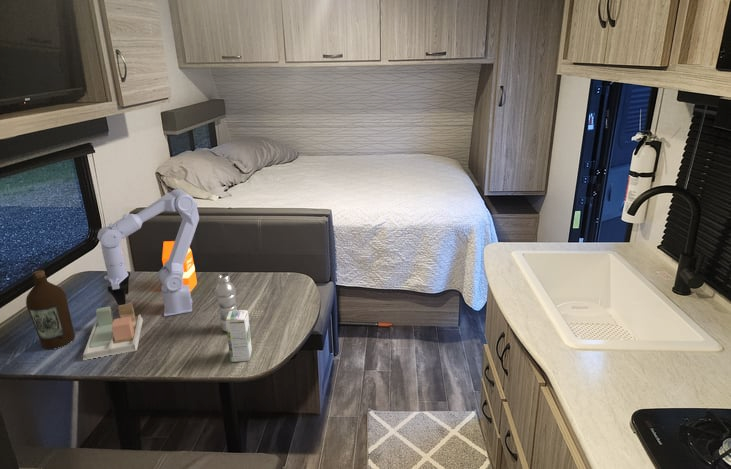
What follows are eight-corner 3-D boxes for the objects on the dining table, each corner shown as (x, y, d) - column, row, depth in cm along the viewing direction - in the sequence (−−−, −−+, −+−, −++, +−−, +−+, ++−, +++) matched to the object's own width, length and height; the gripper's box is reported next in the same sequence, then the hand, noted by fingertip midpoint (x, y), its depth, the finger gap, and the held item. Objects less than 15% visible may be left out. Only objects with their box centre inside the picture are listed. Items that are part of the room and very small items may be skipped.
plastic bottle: (245, 325, 161) (238, 272, 154) (233, 336, 155) (225, 281, 148) (228, 322, 163) (221, 270, 156) (217, 333, 157) (208, 278, 150)
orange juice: (190, 292, 185) (182, 244, 178) (168, 292, 186) (158, 245, 178) (197, 283, 193) (189, 237, 186) (175, 283, 193) (167, 237, 186)
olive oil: (46, 335, 158) (25, 267, 150) (81, 330, 161) (62, 263, 152) (34, 353, 149) (11, 282, 140) (72, 347, 151) (51, 277, 143)
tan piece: (120, 321, 164) (116, 305, 162) (138, 318, 165) (134, 302, 163) (114, 343, 151) (110, 325, 149) (133, 339, 153) (129, 322, 151)
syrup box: (233, 351, 147) (227, 310, 142) (253, 350, 148) (247, 309, 142) (230, 362, 142) (224, 320, 137) (250, 361, 142) (244, 319, 137)
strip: (98, 325, 162) (94, 309, 160) (116, 322, 164) (112, 306, 161) (90, 347, 149) (86, 330, 147) (110, 344, 151) (106, 326, 149)
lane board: (95, 327, 162) (93, 322, 161) (142, 319, 167) (141, 314, 166) (83, 360, 144) (81, 354, 144) (136, 350, 149) (135, 344, 148)
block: (133, 329, 157) (130, 316, 155) (132, 337, 153) (128, 324, 151) (117, 332, 156) (114, 319, 154) (115, 340, 151) (111, 327, 149)
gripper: (105, 256, 161) (113, 291, 166) (97, 273, 148) (106, 311, 153) (127, 253, 163) (135, 288, 168) (122, 269, 150) (130, 307, 155)
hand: (123, 299), depth 160 cm, fingers open, 7 cm apart
